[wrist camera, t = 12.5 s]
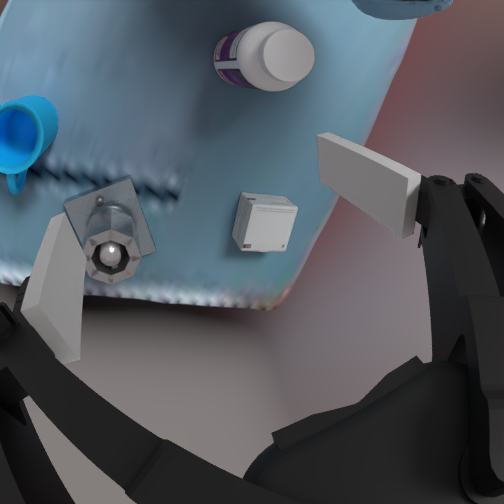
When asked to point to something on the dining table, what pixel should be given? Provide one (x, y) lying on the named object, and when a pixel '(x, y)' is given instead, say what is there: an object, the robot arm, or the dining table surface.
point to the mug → (24, 136)
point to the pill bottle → (264, 57)
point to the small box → (263, 222)
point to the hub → (117, 230)
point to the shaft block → (105, 198)
